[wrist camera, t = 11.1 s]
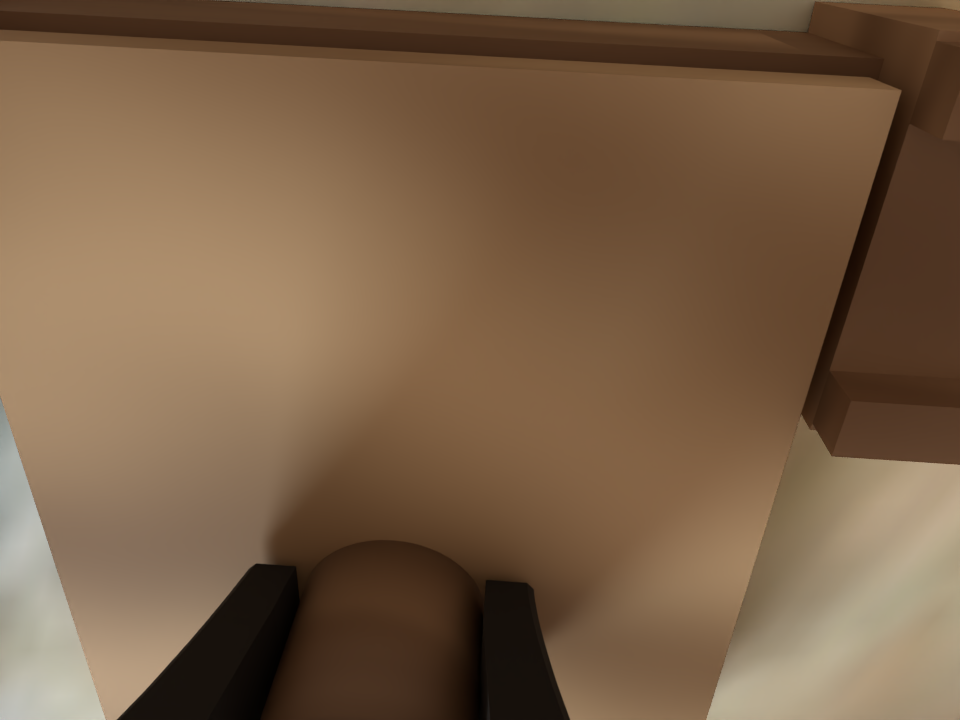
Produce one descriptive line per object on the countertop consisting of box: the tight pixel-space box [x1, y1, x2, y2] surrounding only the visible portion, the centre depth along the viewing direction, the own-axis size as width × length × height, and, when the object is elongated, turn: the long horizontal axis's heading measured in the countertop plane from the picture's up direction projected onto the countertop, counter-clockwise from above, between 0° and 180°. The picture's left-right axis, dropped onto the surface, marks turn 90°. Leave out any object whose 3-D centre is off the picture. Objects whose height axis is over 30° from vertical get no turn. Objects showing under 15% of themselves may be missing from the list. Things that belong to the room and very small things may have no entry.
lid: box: [0, 30, 902, 720], centre depth 11 cm, size 16×10×4 cm, turn 177°
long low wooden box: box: [0, 0, 960, 465], centre depth 13 cm, size 16×26×4 cm, turn 87°
